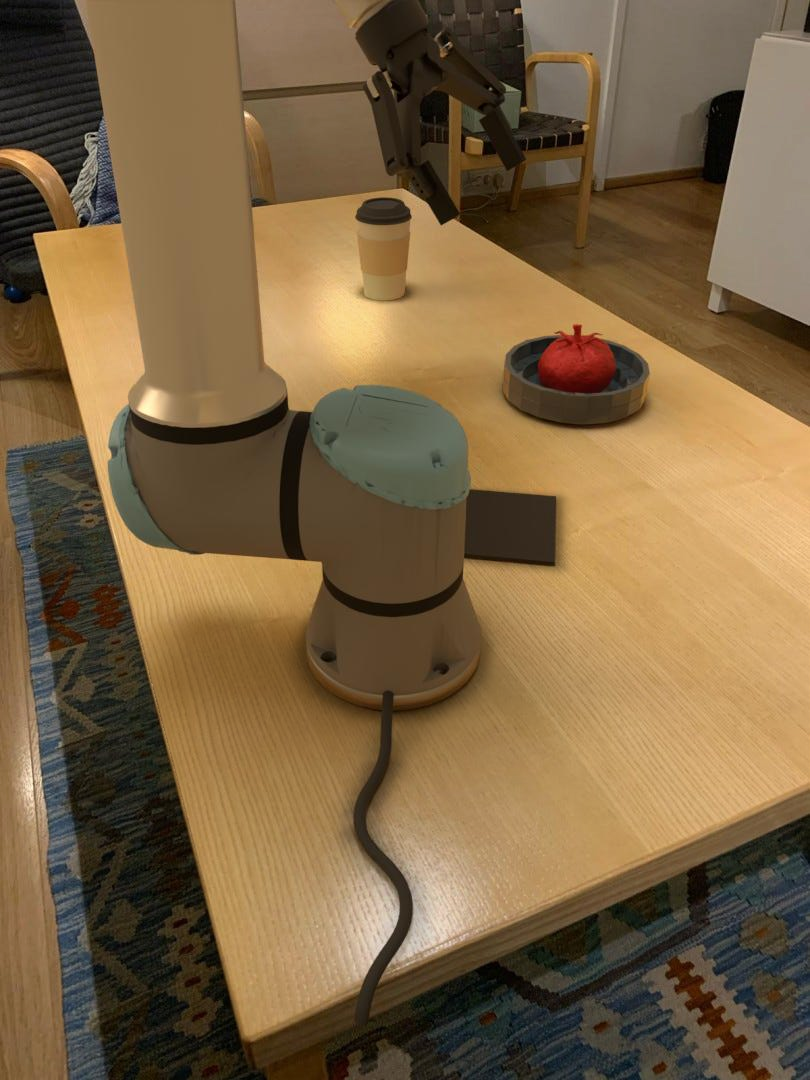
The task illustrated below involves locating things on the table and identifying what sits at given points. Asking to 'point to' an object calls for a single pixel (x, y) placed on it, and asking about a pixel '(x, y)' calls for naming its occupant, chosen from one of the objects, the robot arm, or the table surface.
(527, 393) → the bowl
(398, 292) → the coffee cup
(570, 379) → the red tomato
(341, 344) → the table surface
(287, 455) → the robot arm
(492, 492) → the mat
